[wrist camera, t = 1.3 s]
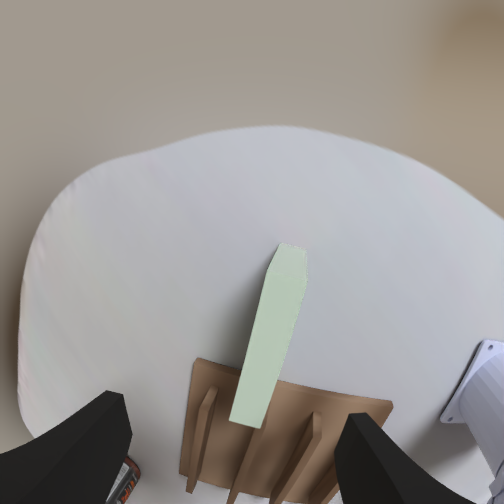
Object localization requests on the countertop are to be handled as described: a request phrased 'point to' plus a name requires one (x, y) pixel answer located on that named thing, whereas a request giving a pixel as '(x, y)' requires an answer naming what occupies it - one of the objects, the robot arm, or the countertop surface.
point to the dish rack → (267, 438)
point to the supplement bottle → (124, 483)
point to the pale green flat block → (270, 334)
